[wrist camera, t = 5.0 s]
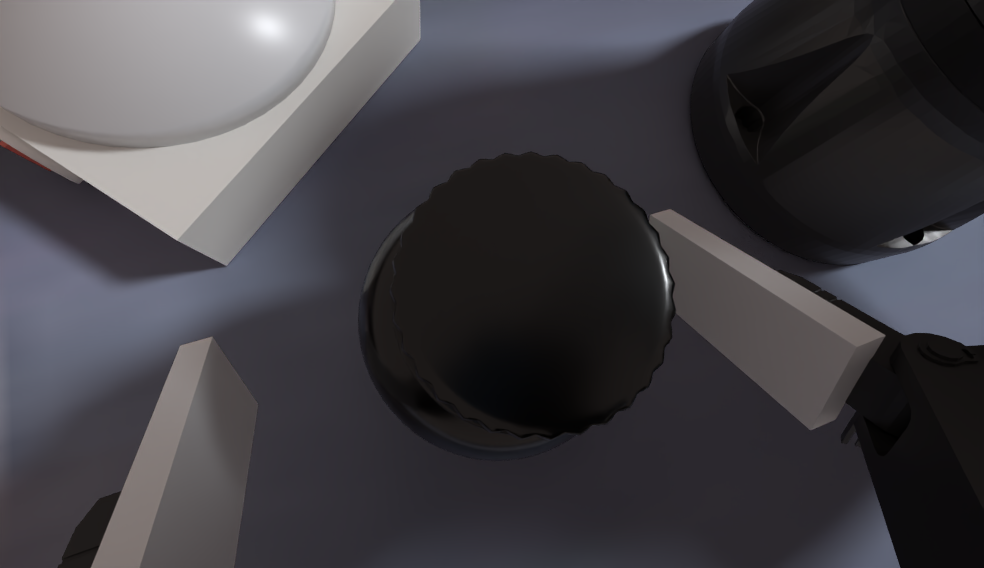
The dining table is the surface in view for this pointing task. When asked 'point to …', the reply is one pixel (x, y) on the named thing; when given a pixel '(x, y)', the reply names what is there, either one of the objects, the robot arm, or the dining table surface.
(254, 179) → the dial scale
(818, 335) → the robot arm
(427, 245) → the supplement bottle
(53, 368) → the dining table surface
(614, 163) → the dining table surface
